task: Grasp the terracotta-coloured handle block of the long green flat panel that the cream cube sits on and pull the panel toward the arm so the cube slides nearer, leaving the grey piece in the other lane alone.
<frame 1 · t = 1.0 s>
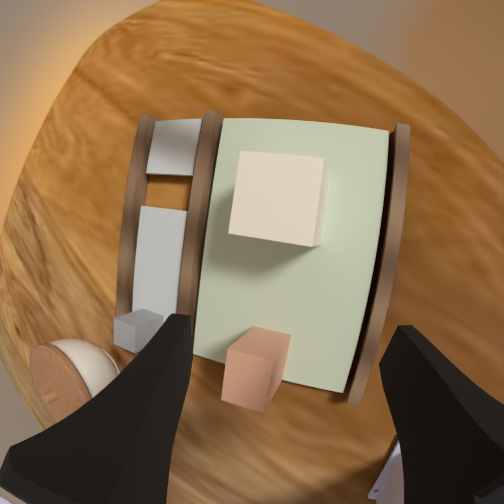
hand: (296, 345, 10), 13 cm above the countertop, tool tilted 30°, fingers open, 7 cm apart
lidded jar: (104, 370, 31), on the countertop
grey piece: (144, 278, 24), point 3 cm above the countertop, slide at 0.0 cm
cream cube: (292, 204, 22), point 1 cm above the countertop, touching green flat panel
green flat panel: (277, 254, 20), point 3 cm above the countertop, slide at 0.0 cm, touching cream cube
lane rails: (245, 244, 24), on the countertop
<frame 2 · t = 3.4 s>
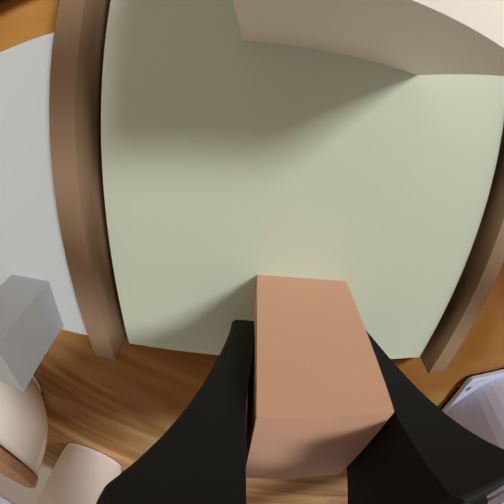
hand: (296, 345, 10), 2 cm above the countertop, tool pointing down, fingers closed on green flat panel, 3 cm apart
lidded jar: (11, 367, 16), on the countertop
foam cup: (94, 456, 23), on the countertop
green flat panel: (359, 83, 5), point 3 cm above the countertop, slide at 0.0 cm, touching cream cube, gripper
lane rails: (208, 76, 8), on the countertop
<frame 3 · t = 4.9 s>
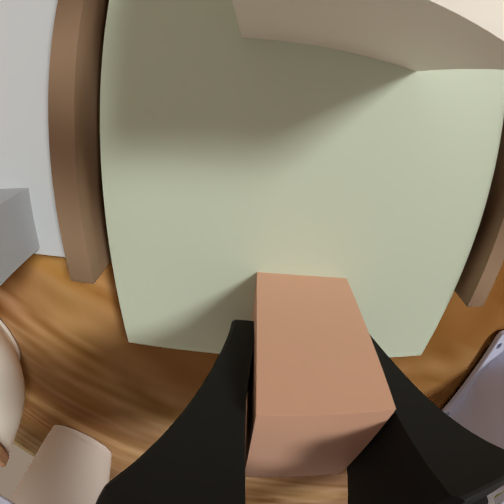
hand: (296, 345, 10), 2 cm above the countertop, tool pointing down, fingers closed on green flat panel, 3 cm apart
foam cup: (82, 441, 21), on the countertop
green flat panel: (358, 78, 5), point 3 cm above the countertop, slide at 3.9 cm, touching cream cube, gripper
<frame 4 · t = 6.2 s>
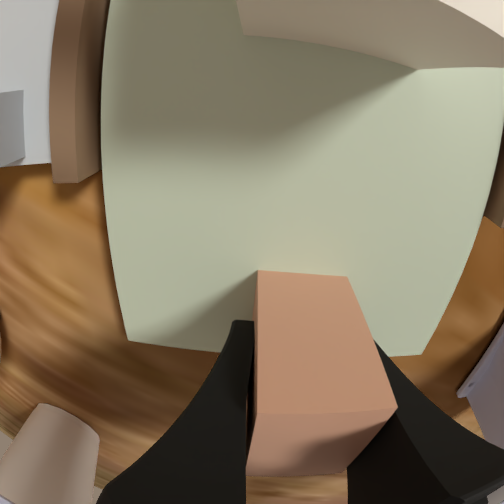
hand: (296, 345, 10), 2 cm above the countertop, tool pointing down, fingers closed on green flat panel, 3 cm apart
foam cup: (67, 423, 19), on the countertop
green flat panel: (360, 75, 5), point 3 cm above the countertop, slide at 7.3 cm, touching cream cube, gripper
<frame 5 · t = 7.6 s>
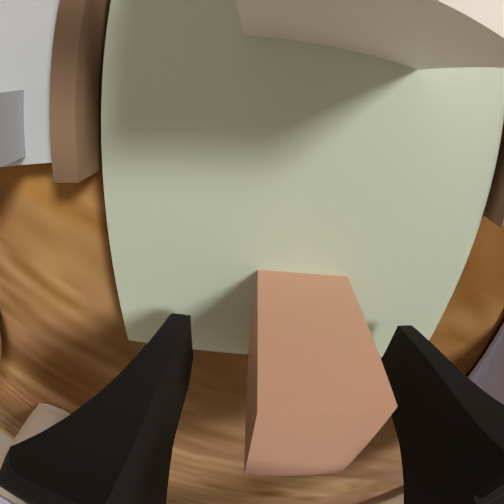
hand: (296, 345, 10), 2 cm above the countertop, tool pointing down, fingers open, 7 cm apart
foam cup: (67, 423, 19), on the countertop
green flat panel: (359, 75, 5), point 3 cm above the countertop, slide at 7.3 cm, touching cream cube
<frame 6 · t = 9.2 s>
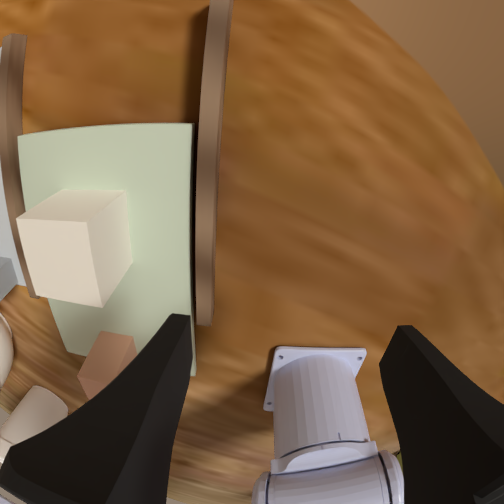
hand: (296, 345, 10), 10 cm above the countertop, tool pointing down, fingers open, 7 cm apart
foam cup: (50, 398, 32), on the countertop
cream cube: (95, 225, 18), point 1 cm above the countertop, touching green flat panel
green flat panel: (89, 288, 18), point 3 cm above the countertop, slide at 7.3 cm, touching cream cube
lane rails: (58, 166, 17), on the countertop
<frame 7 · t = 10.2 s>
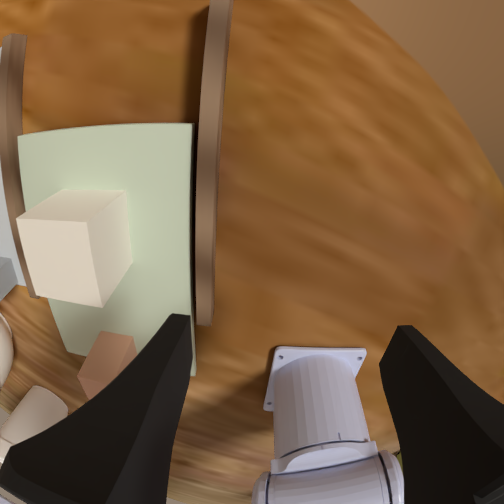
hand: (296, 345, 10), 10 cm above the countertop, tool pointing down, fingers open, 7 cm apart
foam cup: (50, 398, 32), on the countertop
cream cube: (95, 225, 18), point 1 cm above the countertop, touching green flat panel
green flat panel: (89, 288, 18), point 3 cm above the countertop, slide at 7.3 cm, touching cream cube
lane rails: (58, 166, 17), on the countertop
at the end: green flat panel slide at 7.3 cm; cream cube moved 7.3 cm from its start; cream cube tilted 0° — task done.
